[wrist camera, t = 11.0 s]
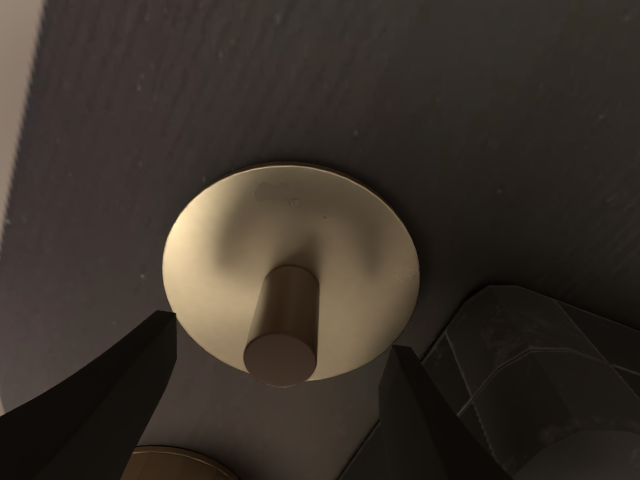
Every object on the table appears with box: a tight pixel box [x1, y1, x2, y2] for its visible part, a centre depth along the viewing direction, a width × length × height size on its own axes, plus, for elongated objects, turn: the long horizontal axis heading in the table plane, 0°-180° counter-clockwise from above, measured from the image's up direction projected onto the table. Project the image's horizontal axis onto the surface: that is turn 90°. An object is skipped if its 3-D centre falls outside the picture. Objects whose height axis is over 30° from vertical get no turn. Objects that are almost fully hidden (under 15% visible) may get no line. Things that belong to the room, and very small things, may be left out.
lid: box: [162, 161, 420, 387], centre depth 15 cm, size 11×11×5 cm
